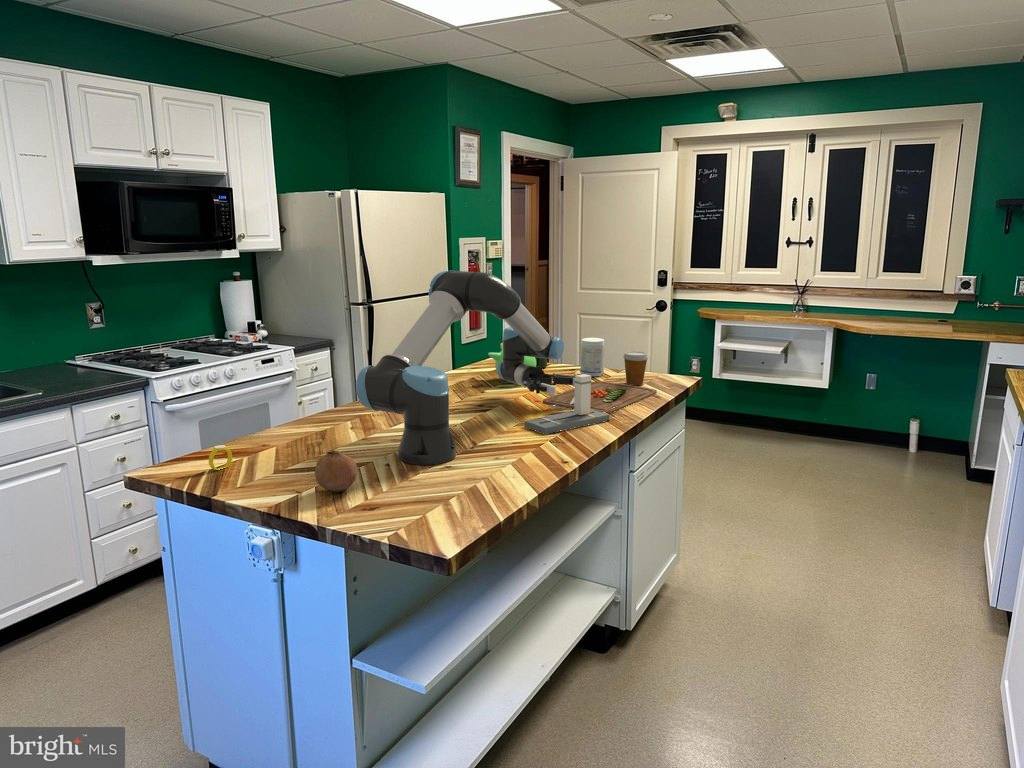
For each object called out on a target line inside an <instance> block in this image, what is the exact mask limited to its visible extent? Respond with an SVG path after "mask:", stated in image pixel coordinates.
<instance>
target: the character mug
mask: <svg viewBox="0 0 1024 768" xmlns="http://www.w3.org/2000/svg"><path fill="white" fill-rule="evenodd" d="M535 359H536V367H538V368H541V369H544V368H547V367H548V359H545V358H537V357H535Z"/></svg>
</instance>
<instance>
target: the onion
mask: <svg viewBox="0 0 1024 768" xmlns="http://www.w3.org/2000/svg"><path fill="white" fill-rule="evenodd" d="M358 472H359V471H358V465H357V463H356V461H355V460H354V459H353V458H352V457H351V456H349V455H347V454H344V453H342V452H341V451H339V450H336V449H330V450H329V451H326V454H324V455H323V456H321V457H320V458H319V459H318V460H317V462H316V464H315V468H314V476H315V477H314V478H315V480H316V482H317V484H318V485H319V486H320V487H321V488H323V489H325V490H328V491H330V492H332V493H341V492H344V491H346V490H347V489H349V488H350V487H352V485H353V484H354V483H355V481H356V480H357V476H358V474H359V473H358Z"/></svg>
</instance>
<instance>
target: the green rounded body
mask: <svg viewBox="0 0 1024 768" xmlns="http://www.w3.org/2000/svg"><path fill="white" fill-rule="evenodd" d="M500 349H501V351H499V352H493V351H492V352H488V353H487V355H488V357H490V358H491V359H493V360H495V371H497V367H498V365H499V363H500V362H501V361H502V360H503V342H501V343H500ZM524 364H527V365H531V366H534V367H536V359H535V357H529V356H524Z"/></svg>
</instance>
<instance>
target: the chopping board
mask: <svg viewBox="0 0 1024 768" xmlns="http://www.w3.org/2000/svg"><path fill="white" fill-rule="evenodd" d="M657 391H658V390H656V389H654V388H649V387H644V386H640V385H628V384H627V383H626V384H624V383H617V382H607V381H591V401H590V409H592V410H596V411H599V412H606V413H608V412H609V413H610V412H614V411H616V410H618V411H620V410H619V409H621V408H623V409H625V408H627V407H629V406H628V405H630V406H632V405H634V404H636V403H638V402H641V401H643V400H645V399H648V398H650V397H651V396H654V395H657ZM574 400H575V387H574V388H571V389H568V390H565V391H563V392H560V393H556V394H555V395H554V396H553V395H551V396H549V397H545V398H543V400H542V403H543V404H545V405H548V407H549V408H554V407H556V408H555V409H559V408H562V409H561V410H565V409H568V410H567V411H571V410H574V409H572V408H574ZM633 403H634V404H633ZM549 404H550V405H549ZM631 404H632V405H631ZM560 406H562V407H560ZM616 406H617V407H616ZM626 406H627V407H626ZM566 407H569V408H566ZM613 407H615V408H613ZM624 407H625V408H624ZM611 408H613V409H611ZM609 409H610V410H609ZM621 410H622V409H621ZM616 412H617V411H616ZM614 413H615V412H614ZM610 414H611V413H610Z"/></svg>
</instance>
